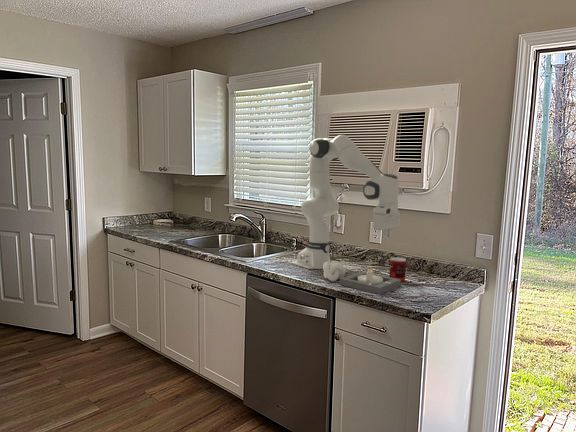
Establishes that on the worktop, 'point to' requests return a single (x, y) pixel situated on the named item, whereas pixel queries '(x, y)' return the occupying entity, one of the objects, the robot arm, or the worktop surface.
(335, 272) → the white decorative knot
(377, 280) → the dial
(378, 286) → the panel
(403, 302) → the worktop surface
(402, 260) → the canned food
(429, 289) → the worktop surface
